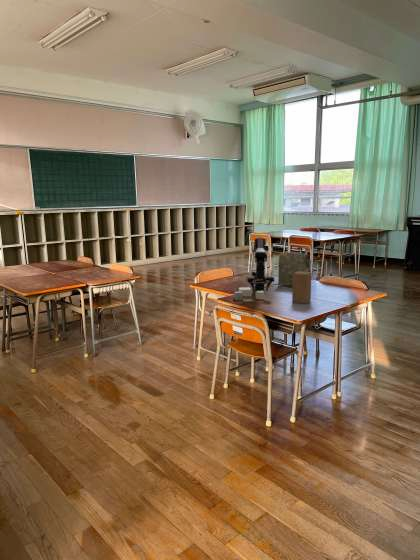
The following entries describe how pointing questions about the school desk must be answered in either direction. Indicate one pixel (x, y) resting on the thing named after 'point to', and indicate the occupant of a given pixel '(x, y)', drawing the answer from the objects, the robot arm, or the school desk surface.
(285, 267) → the bag
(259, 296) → the green cube
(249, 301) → the board
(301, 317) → the school desk surface
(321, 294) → the school desk surface
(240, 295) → the grey cube
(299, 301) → the block
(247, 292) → the plinth
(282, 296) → the school desk surface
